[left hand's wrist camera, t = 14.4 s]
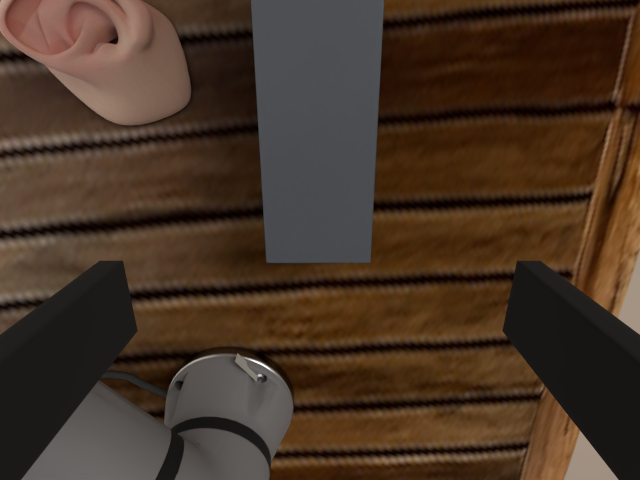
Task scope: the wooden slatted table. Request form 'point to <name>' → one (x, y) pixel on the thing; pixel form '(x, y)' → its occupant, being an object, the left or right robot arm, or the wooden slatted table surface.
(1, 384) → the left robot arm
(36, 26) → the anatomical model
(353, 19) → the long dark gray bar
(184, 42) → the wooden slatted table surface
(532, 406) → the wooden slatted table surface
